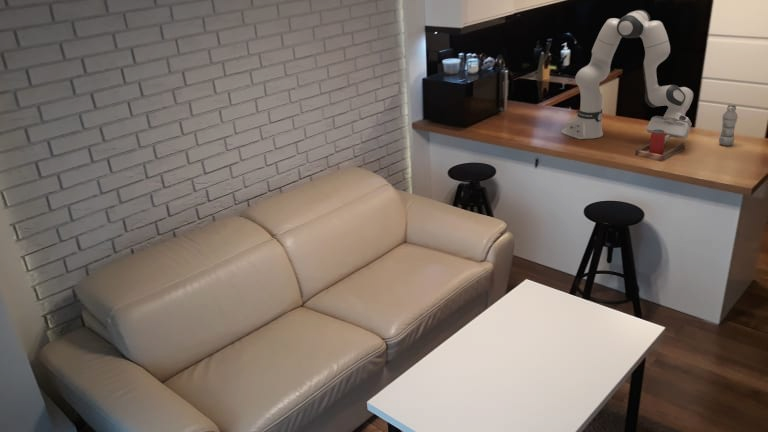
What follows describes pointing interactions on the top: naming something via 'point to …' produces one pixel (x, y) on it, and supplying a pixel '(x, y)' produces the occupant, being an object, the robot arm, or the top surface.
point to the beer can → (657, 142)
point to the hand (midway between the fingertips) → (661, 142)
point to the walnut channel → (658, 157)
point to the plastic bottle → (728, 126)
